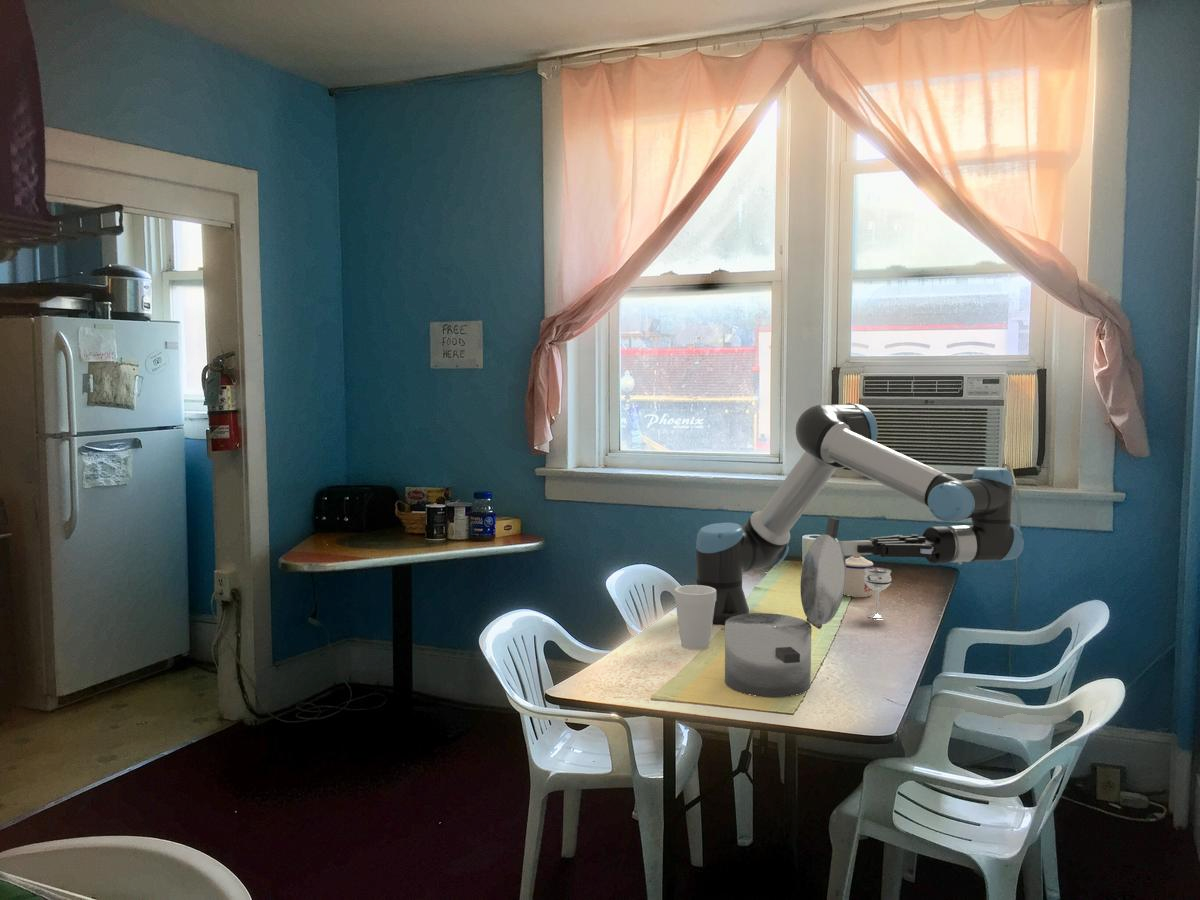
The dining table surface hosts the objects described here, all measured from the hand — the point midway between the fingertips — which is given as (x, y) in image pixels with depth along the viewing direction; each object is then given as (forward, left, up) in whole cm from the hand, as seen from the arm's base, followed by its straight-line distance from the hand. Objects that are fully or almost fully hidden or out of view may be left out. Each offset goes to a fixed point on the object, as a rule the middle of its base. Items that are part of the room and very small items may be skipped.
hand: (840, 548), depth 187 cm
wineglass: (-5, +53, -27) cm, 59 cm away
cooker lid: (-3, -2, -5) cm, 6 cm away
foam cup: (-35, +7, -27) cm, 45 cm away
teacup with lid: (-16, +76, -27) cm, 82 cm away
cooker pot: (-12, -9, -27) cm, 31 cm away
